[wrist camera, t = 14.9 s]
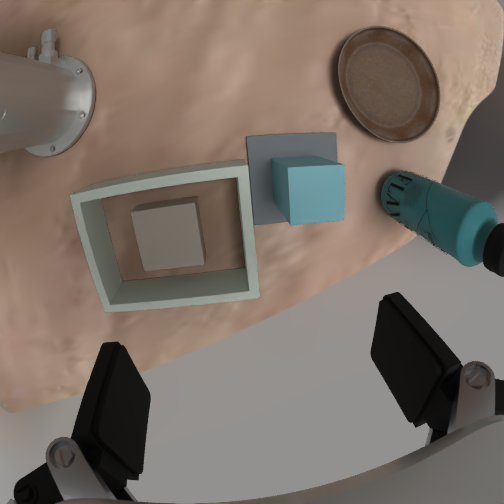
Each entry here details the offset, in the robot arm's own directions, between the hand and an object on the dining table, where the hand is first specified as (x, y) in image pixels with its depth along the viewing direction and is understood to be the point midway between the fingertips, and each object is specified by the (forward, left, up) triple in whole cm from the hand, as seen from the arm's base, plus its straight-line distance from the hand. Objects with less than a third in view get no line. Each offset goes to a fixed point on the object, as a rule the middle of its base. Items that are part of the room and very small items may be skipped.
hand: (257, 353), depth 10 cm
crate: (+3, -7, -24) cm, 26 cm away
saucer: (-13, +20, -25) cm, 34 cm away
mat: (-1, +7, -24) cm, 25 cm away
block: (-1, +7, -24) cm, 25 cm away
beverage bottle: (+1, +21, -25) cm, 32 cm away
